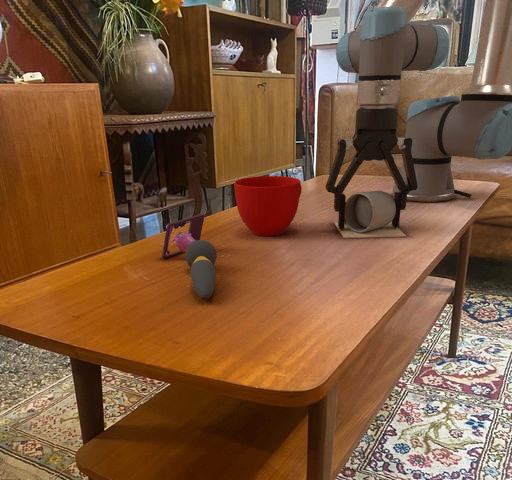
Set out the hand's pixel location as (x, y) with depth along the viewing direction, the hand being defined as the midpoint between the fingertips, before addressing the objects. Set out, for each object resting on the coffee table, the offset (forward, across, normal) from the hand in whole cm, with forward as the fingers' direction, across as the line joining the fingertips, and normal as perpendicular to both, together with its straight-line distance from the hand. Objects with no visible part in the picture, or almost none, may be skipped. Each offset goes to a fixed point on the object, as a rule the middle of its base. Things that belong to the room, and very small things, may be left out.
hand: (368, 226), depth 105 cm
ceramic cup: (+1, -19, +2) cm, 19 cm away
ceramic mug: (+1, -1, 0) cm, 1 cm away
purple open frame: (+1, -35, -14) cm, 38 cm away
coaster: (+1, 0, 0) cm, 1 cm away
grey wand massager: (+1, -31, -28) cm, 42 cm away
